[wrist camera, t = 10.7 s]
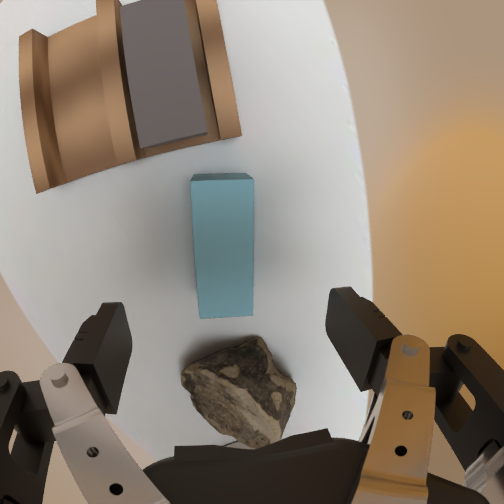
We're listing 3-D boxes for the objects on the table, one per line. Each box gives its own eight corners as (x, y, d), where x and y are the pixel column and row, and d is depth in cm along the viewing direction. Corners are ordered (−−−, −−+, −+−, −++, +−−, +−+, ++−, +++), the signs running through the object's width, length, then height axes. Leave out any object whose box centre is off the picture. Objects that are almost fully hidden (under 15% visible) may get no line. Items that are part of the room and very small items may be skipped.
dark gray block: (207, 134, 18) (207, 131, 14) (153, 147, 18) (140, 148, 14) (186, 16, 14) (182, -10, 11) (134, 29, 14) (119, 6, 10)
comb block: (236, 136, 19) (241, 135, 16) (59, 185, 18) (36, 194, 15) (209, -8, 15) (210, -31, 11) (41, 46, 14) (19, 36, 10)
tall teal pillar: (245, 288, 23) (253, 315, 20) (200, 290, 23) (199, 318, 19) (245, 172, 20) (254, 179, 17) (193, 174, 20) (190, 181, 16)
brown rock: (151, 370, 24) (189, 430, 16) (222, 306, 28) (288, 335, 19) (219, 428, 28) (270, 481, 19) (275, 373, 32) (339, 409, 23)
